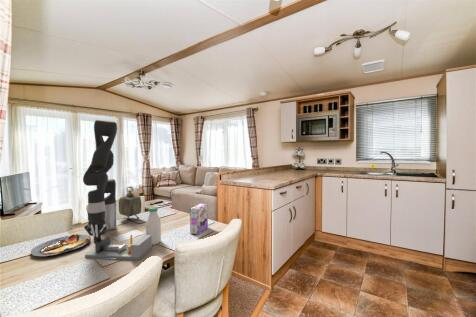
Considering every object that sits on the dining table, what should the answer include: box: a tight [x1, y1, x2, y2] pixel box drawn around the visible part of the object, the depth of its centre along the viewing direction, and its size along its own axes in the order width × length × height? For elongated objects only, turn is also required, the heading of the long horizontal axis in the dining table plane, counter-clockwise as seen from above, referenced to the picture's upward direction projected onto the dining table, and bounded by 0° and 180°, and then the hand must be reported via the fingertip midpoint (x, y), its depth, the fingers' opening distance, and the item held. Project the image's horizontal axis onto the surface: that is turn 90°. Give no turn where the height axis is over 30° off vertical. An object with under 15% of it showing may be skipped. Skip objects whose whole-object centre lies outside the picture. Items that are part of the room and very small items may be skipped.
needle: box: [127, 234, 135, 253], centre depth 107 cm, size 1×5×8 cm, turn 174°
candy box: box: [189, 203, 209, 235], centre depth 138 cm, size 14×6×16 cm, turn 161°
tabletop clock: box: [118, 186, 142, 221], centre depth 160 cm, size 14×9×25 cm, turn 66°
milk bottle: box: [145, 206, 162, 246], centre depth 120 cm, size 8×8×20 cm
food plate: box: [30, 234, 92, 257], centre depth 115 cm, size 25×23×4 cm
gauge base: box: [84, 234, 153, 262], centre depth 108 cm, size 28×12×8 cm, turn 84°
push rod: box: [94, 235, 127, 253], centre depth 108 cm, size 12×8×5 cm, turn 84°
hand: (97, 243), depth 109 cm, fingers closed
